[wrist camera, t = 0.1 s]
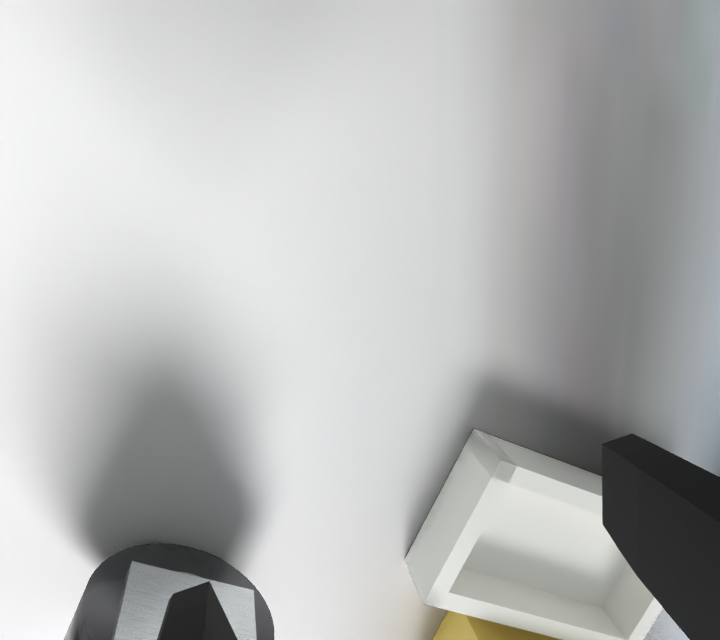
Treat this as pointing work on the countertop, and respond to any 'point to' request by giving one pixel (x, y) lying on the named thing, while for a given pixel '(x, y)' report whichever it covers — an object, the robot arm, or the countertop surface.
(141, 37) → the countertop surface
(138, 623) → the castor
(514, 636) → the block
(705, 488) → the robot arm
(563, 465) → the tray
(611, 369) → the countertop surface
